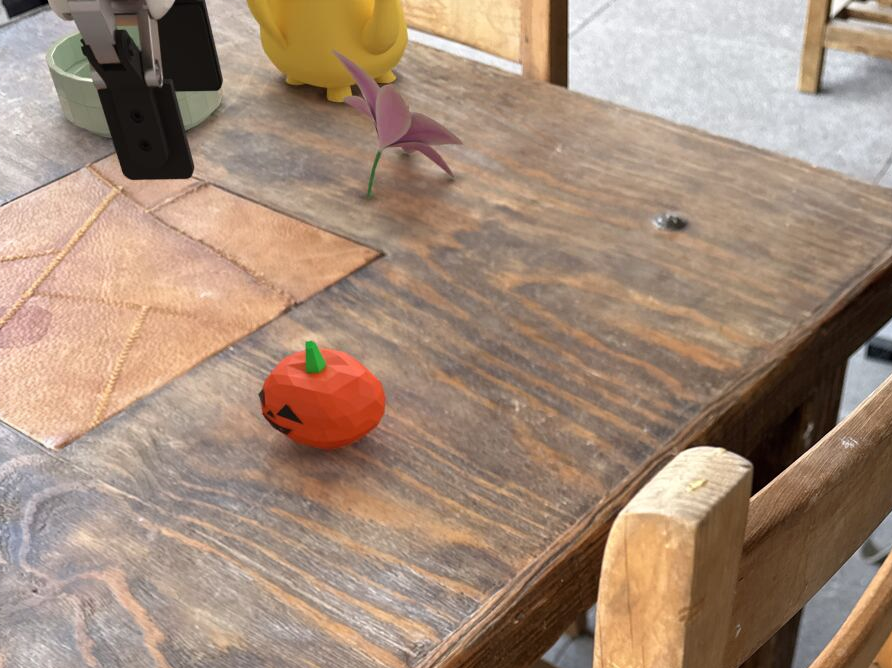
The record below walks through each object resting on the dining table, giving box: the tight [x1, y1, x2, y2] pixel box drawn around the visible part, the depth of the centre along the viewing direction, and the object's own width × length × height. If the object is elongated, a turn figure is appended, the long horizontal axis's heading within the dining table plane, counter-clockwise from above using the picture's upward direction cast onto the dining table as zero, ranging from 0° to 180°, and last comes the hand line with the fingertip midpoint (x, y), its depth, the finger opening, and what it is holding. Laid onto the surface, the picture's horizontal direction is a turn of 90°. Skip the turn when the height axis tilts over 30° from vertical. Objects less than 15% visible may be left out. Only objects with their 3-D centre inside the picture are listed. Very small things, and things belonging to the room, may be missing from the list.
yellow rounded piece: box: [246, 0, 409, 103], centre depth 107 cm, size 14×14×12 cm
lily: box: [331, 49, 464, 199], centre depth 96 cm, size 12×12×10 cm
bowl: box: [44, 26, 223, 139], centre depth 105 cm, size 14×14×5 cm
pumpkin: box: [257, 340, 387, 451], centre depth 75 cm, size 7×8×6 cm
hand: (177, 130), depth 56 cm, fingers open, 9 cm apart
